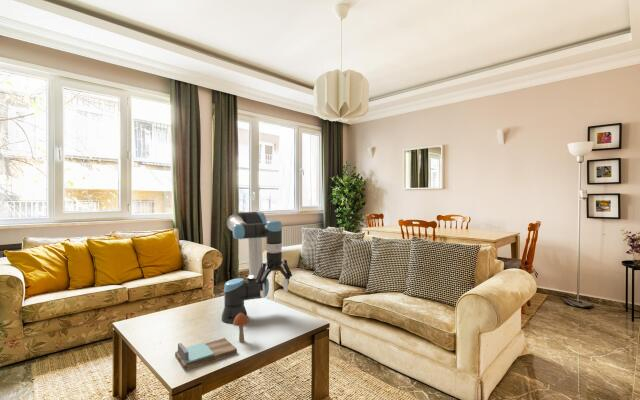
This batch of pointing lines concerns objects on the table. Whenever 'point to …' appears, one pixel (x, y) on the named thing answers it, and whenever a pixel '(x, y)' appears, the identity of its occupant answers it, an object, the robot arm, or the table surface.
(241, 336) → the mushroom
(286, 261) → the robot arm
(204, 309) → the table surface
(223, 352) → the board
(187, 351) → the lid
